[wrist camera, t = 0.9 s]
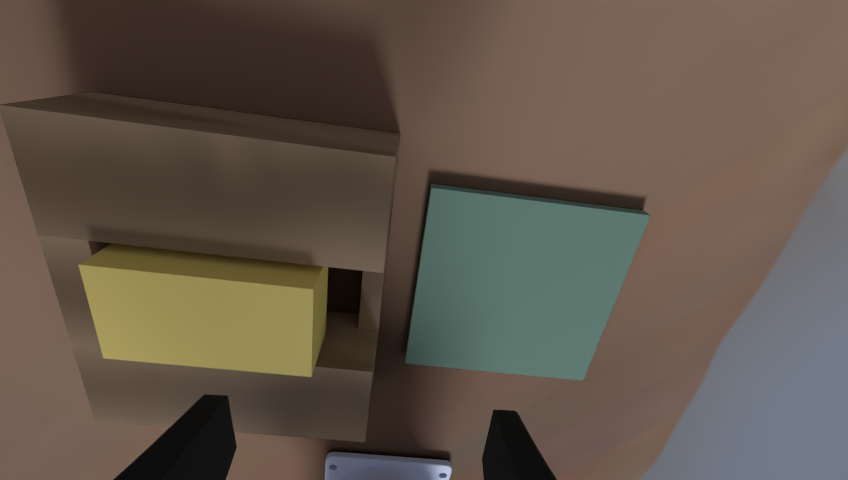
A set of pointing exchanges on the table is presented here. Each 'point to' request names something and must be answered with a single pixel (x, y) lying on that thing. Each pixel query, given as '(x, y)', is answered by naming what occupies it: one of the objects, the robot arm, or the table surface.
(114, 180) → the pocket board
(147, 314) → the slab
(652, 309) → the table surface
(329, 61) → the table surface
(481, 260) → the mat
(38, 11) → the table surface
